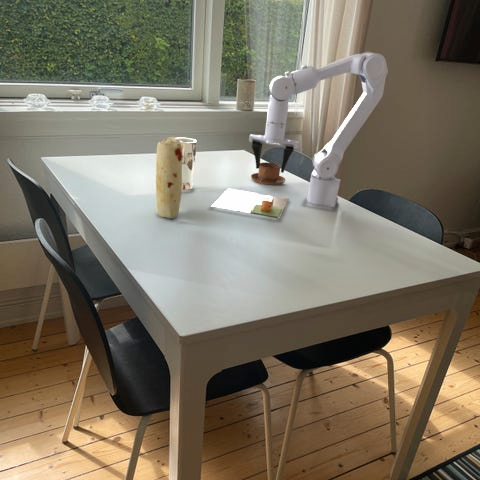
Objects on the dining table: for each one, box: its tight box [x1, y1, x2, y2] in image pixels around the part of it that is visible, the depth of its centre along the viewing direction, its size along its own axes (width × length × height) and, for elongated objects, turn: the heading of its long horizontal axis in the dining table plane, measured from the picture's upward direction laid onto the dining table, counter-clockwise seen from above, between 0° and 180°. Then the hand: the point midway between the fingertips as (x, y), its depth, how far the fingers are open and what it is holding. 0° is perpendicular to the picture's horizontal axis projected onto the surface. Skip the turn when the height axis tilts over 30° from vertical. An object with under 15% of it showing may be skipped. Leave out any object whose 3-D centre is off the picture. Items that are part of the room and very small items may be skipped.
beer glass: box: [175, 137, 197, 190], centre depth 149 cm, size 7×7×15 cm
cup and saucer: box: [250, 162, 286, 186], centre depth 167 cm, size 12×12×6 cm
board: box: [210, 188, 290, 219], centre depth 146 cm, size 20×20×1 cm
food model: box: [155, 136, 183, 220], centre depth 127 cm, size 10×7×20 cm
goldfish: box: [261, 194, 274, 212], centre depth 139 cm, size 6×3×4 cm, turn 167°
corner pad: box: [249, 204, 282, 218], centre depth 140 cm, size 8×8×1 cm
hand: (270, 169), depth 147 cm, fingers open, 7 cm apart
